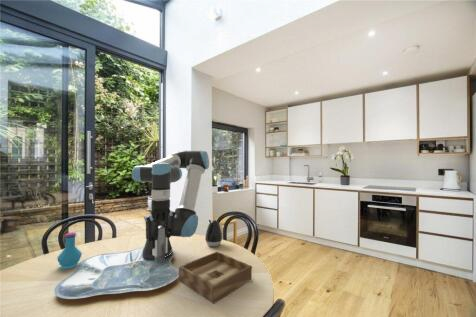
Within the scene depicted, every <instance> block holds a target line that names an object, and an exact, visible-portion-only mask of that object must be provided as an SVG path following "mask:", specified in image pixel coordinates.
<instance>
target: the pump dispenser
mask: <svg viewBox="0 0 476 317" xmlns="http://www.w3.org/2000/svg"><path fill="white" fill-rule="evenodd" d="M208 222H209V224H208V226H207V229H206V232H205V237H204V238H205V242H206V244H207V245H208V246H209V247H212V248H215V247H218V246H220V245H221V243H222V240H223V233H222V228H221V225H220V222H218V221H217V220H215V219H213V220H211V219H209V220H208Z"/></svg>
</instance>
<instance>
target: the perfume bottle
mask: <svg viewBox="0 0 476 317" xmlns="http://www.w3.org/2000/svg"><path fill="white" fill-rule="evenodd" d="M76 236H77V233H76V232H68V233H66V234H65V235H64V237H65V247H64V249H63V250H62V251H61V253H59V255H57V261H58V263H59V265H60V269H62V270H63V269H64V270H65V269H71V268H74V267H76V266H78V265H79V261H80V259H81V258H82V255H83V253H82V251H81V250H79V249H78V247H77V246H76Z"/></svg>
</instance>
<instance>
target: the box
mask: <svg viewBox="0 0 476 317" xmlns="http://www.w3.org/2000/svg"><path fill="white" fill-rule="evenodd" d="M252 268H253V266H252V265H250V264H248V263H246V262H243V261H241V260H239V259H236V258H233V257H231V256H229V255H227V254H224V253H223V252H220V251H215V252H212V253H210V254H208V255H207V254H206V255H205V256H203V257H199V258H197V259H195V260H192V261H190V262H186V263H185V264H182V265H180V266H178V281H179V282H180V283H182V284H183V285H184V286H186V287H188V288H190V289H191V290H192V291H194V292H195V293H197V294H199V296H201V297H203V298H204V299H206V300H207V301H209V302H210V303H212V304H216V303H217V302H219V301H221V300H222V299H223V298H226V297H227V296H229V295H230V294H231V293H233V292H235V291H236V290H238V289H239V288H241V287H242V286H244V285H245V284H247V283H249V282H250V280H251V281H252V276H253V275H252V272H253V269H252ZM215 276H216V277H217V278H215Z"/></svg>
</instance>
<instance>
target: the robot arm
mask: <svg viewBox="0 0 476 317" xmlns="http://www.w3.org/2000/svg"><path fill="white" fill-rule="evenodd" d="M166 156H167V157H165V158H162V159H159V160H156V161H155V162H151V163H149V164H146V165H142V164H141V165H135V166H134V167H133V168H132V171H131V177H132V180H134V181H135V182H141V183H143V182H147V183H148V182H149V183H150V182H151V196H150V197H151V201H150V203H151V204H150V205H151V207H150V208H151V211H150V213H148V214H147V215H145V216H144V217H143V219H144V221H145V239H146V241H145V243H144V244H145V245H144V246H143V249H142V254H141V256H142V258H143V259H144V260H149V261H155V257H156V256H157V240H156V236H157V231H158V226H165V256H167V255H169V254H170V253H171V252H172V253H173V247H172V244H171V240H170V238H171V237H178V238H179V237H181V238H191V237H193V236H194V234H196V231H197V228H198V223H199V216H198V215H197V212H196V211H195V208H196V207H195V206H196V203H197V197H198V193H199V189H200V183H201V179H202V175H203V174H204V173H206V172H205V171H206V170H208V169H209V167H210V158H209V154H208V152H207V151H205V150H181V151H175V152H173V153H170V154H169V155H166ZM182 169H186V171H187V175H186V176H185V177H186V178H185V182H184V184H183V185H184V186H183V188H182V194H181V197H180V201H179V205H178V207H176V208H175V209H174V211H173V210H171V209H170V207H171V199H170V198H171V183H176V182H178V181H180V180H181V179H182V176H183V171H182Z"/></svg>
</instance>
